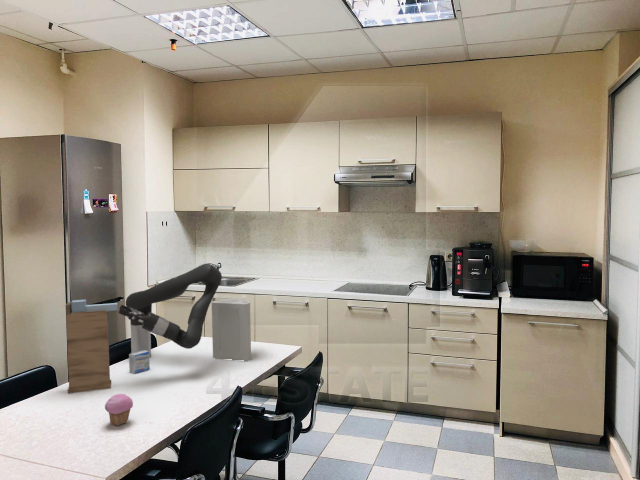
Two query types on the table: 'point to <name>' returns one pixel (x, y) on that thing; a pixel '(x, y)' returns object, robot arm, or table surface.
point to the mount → (87, 350)
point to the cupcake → (119, 408)
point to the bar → (92, 306)
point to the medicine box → (139, 362)
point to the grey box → (231, 329)
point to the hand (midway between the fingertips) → (119, 308)
